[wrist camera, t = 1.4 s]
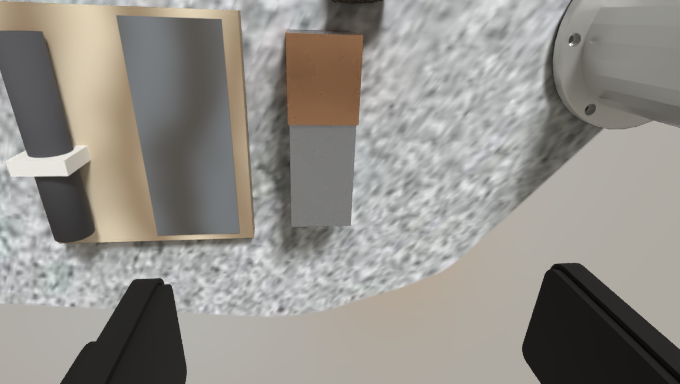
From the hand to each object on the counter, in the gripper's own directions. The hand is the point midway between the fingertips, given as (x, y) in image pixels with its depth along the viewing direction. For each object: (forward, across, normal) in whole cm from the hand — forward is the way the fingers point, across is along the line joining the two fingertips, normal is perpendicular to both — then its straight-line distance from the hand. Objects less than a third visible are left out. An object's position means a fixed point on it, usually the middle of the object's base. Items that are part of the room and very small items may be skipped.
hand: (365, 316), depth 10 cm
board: (+20, +12, +1) cm, 23 cm away
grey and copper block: (+20, 0, 0) cm, 20 cm away
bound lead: (+20, +17, +1) cm, 26 cm away
